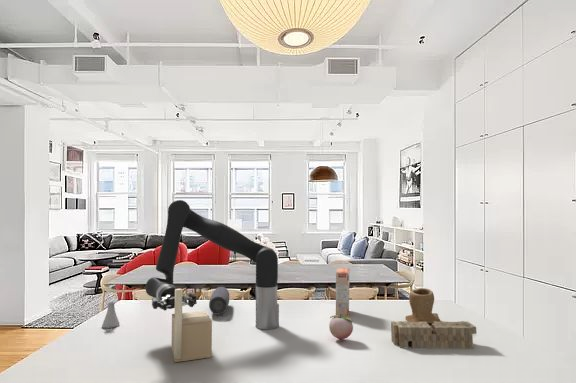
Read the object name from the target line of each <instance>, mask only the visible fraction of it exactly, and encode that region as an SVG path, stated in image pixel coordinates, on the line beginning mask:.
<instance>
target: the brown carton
mask: <svg viewBox="0 0 576 383" xmlns="http://www.w3.org/2000/svg"><path fill="white" fill-rule="evenodd" d="M205 322H212V323H213V320H212V319H211V318H210V315H209V314H208V313H207V312H206V310H202V311H201V310H200V311H199V310H198V311H190V312H182V325H187V324H196V323H205ZM174 324H175V313H171V350H172V354H173V356H174Z"/></svg>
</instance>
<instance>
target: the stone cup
mask: <svg viewBox="0 0 576 383" xmlns="http://www.w3.org/2000/svg"><path fill="white" fill-rule="evenodd" d="M408 299H409V305H410V308H411V314H410V315H406V316H405V317H404V318H405V321H406V322H407V321H410V322H427V324H429V325H430V324H433V322H434V321H436V322H441V319H440V317H439V313H437V312H435V313H433V307H434V303H435V296H434V292H433V291H432V290H431V289H429V288H426V287H425V288H424V287H419V288H415V289H412V290H410V292H409V297H408Z"/></svg>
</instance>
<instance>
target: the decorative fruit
mask: <svg viewBox="0 0 576 383" xmlns="http://www.w3.org/2000/svg"><path fill="white" fill-rule="evenodd" d="M329 319H330V321H329V324H328V326H329V327H328V328H329V332H330V334H331V335H332V336H333V337H335V339H338V340H339V341H342V340H345V339H348V338H349V337H350V336H351V334H352V333H353V331H354V325H353V320H352V319H351V318H350V317H349V316H348V317H341V314H340V316H338V315H336V314H334V315H331V316H330V317H329Z"/></svg>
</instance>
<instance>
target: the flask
mask: <svg viewBox="0 0 576 383" xmlns="http://www.w3.org/2000/svg"><path fill="white" fill-rule="evenodd" d="M115 304H116V301H108V302H106V305H107V311H106V315H105V317H104V319H103V321H102V324H101V328H102V329H103V328H105V329H111V328H117V327H119V326H120V324H121V323H120V321H119V318H118V316H117V313H116V308H115Z"/></svg>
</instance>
